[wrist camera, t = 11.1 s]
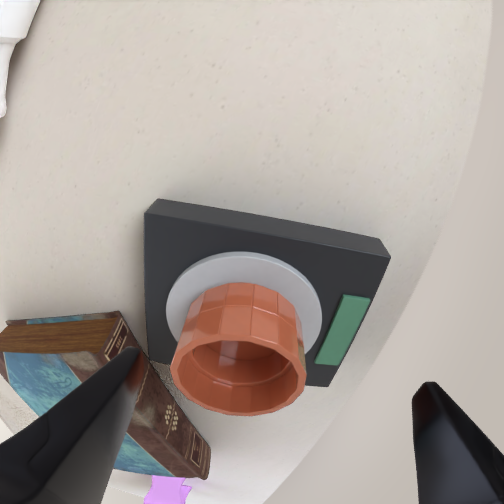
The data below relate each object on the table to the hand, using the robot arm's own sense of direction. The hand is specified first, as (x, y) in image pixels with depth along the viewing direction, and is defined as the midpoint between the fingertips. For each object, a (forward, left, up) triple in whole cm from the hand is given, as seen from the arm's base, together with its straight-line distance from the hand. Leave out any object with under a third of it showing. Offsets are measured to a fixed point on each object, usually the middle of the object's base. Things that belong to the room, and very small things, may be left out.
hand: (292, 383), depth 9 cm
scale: (-3, +5, -12) cm, 13 cm away
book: (-2, +27, -12) cm, 30 cm away
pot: (-2, +5, -9) cm, 10 cm away
